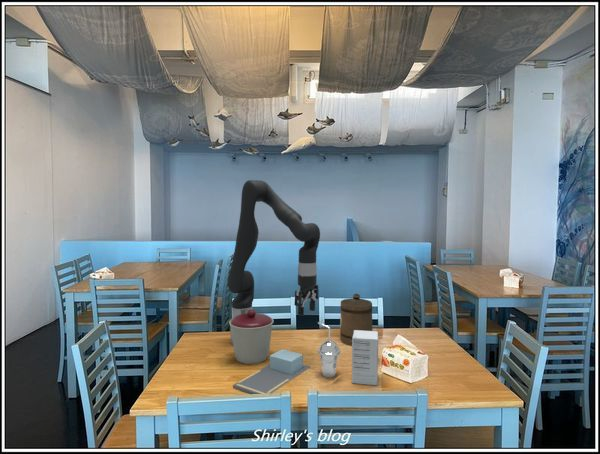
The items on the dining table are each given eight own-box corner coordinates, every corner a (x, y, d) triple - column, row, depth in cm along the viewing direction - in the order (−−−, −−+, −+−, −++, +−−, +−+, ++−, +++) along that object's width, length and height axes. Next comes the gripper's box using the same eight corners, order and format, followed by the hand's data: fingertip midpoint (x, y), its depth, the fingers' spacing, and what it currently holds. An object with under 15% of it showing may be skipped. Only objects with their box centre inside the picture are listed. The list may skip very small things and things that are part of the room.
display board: (232, 387, 141) (232, 384, 141) (280, 360, 164) (280, 357, 164) (266, 399, 133) (266, 395, 132) (311, 369, 156) (311, 365, 156)
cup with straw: (324, 384, 143) (324, 329, 142) (313, 373, 152) (313, 322, 150) (344, 379, 147) (344, 326, 145) (332, 370, 155) (333, 319, 153)
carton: (269, 368, 154) (269, 355, 154) (282, 361, 161) (282, 349, 161) (291, 374, 149) (291, 361, 148) (302, 366, 155) (302, 354, 155)
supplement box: (377, 386, 142) (378, 339, 140) (351, 383, 144) (351, 338, 142) (377, 374, 151) (378, 330, 150) (353, 372, 153) (353, 329, 152)
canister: (227, 354, 170) (226, 306, 169) (268, 349, 176) (268, 302, 174) (233, 372, 153) (232, 318, 152) (278, 366, 159) (278, 314, 157)
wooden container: (354, 332, 197) (354, 288, 195) (378, 340, 186) (379, 294, 185) (333, 340, 187) (333, 293, 185) (358, 348, 176) (358, 300, 175)
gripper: (308, 269, 167) (308, 307, 168) (289, 275, 155) (288, 315, 157) (324, 271, 163) (323, 310, 164) (305, 277, 151) (305, 319, 152)
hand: (306, 313), depth 160 cm, fingers open, 8 cm apart
